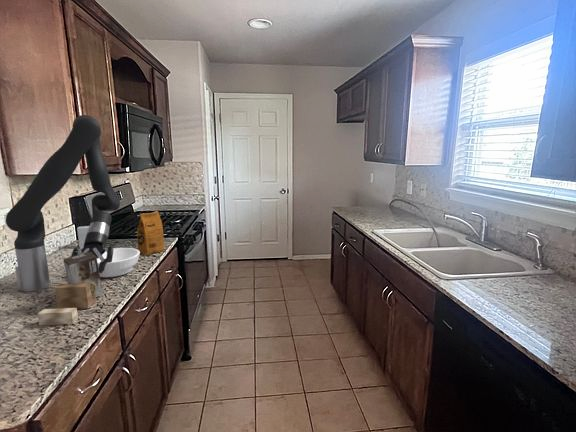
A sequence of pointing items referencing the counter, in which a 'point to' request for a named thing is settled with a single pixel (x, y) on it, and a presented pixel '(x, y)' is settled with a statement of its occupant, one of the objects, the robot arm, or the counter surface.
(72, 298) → the block
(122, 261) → the bowl
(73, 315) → the batten
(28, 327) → the counter surface
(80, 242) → the skincare box
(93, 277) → the coffee box
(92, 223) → the robot arm
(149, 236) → the coffee package
